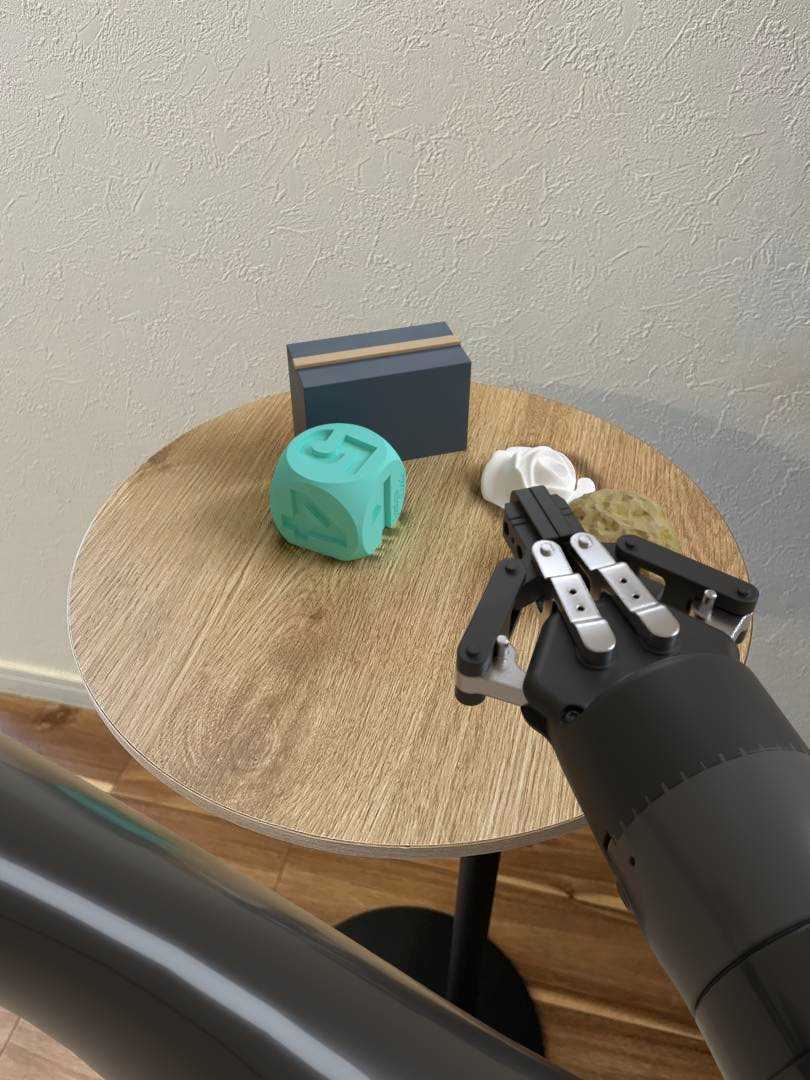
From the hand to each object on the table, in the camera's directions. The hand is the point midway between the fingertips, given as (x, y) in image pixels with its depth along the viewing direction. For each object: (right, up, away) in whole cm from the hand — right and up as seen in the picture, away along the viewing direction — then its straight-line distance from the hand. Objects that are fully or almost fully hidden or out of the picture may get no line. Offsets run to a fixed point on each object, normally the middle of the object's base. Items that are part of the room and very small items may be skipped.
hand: (523, 502), depth 44 cm
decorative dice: (-10, -1, +35) cm, 37 cm away
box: (-8, +6, +43) cm, 44 cm away
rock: (+10, -6, +30) cm, 32 cm away
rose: (+6, +2, +38) cm, 39 cm away
